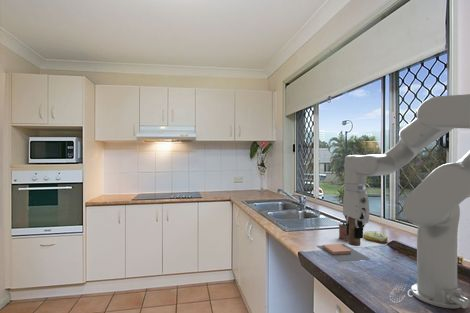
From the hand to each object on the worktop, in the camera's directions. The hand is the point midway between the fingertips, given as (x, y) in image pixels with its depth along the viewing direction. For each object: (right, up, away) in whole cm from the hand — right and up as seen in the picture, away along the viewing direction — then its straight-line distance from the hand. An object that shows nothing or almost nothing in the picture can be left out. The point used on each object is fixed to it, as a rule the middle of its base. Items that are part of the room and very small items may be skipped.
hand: (354, 235), depth 102 cm
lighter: (+11, -12, +32) cm, 36 cm away
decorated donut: (+25, -12, +33) cm, 43 cm away
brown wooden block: (0, -3, 0) cm, 3 cm away
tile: (+3, -10, +16) cm, 20 cm away
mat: (+1, -12, +14) cm, 18 cm away
